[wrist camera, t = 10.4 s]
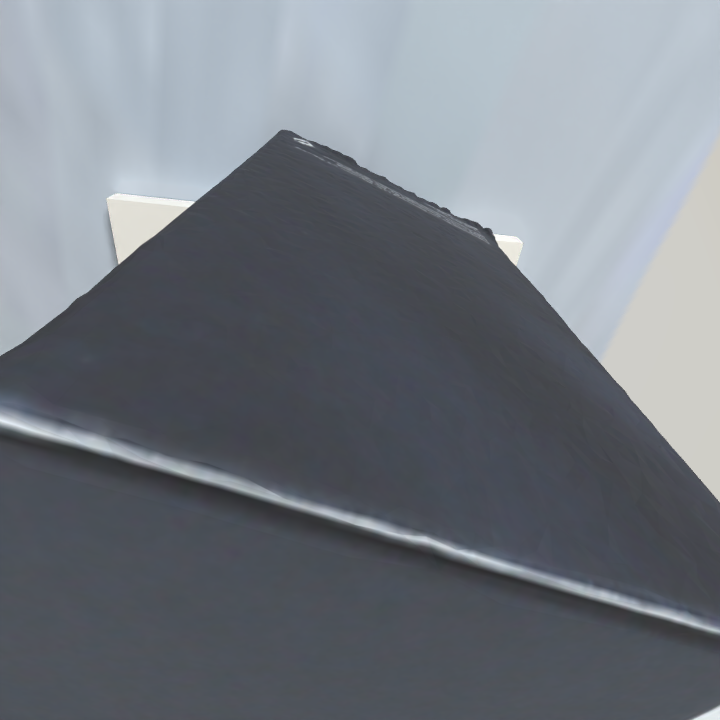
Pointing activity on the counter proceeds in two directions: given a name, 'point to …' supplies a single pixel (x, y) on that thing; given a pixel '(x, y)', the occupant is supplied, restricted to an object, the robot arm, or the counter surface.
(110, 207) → the outlet plate
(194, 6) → the counter surface
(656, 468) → the small box
